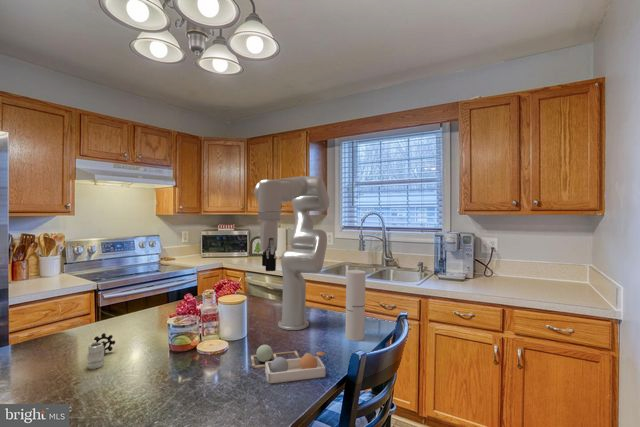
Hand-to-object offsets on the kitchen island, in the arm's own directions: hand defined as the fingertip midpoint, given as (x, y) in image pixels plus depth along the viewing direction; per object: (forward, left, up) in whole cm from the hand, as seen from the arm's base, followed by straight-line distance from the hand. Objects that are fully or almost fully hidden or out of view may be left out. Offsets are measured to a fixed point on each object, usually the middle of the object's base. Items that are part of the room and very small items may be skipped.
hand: (268, 268), depth 110 cm
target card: (+6, +15, -28) cm, 32 cm away
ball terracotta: (+17, +10, -28) cm, 34 cm away
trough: (+17, +6, -28) cm, 33 cm away
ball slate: (+17, +1, -28) cm, 33 cm away
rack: (+7, +2, -28) cm, 29 cm away
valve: (-6, -51, -29) cm, 59 cm away
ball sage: (+7, -2, -28) cm, 29 cm away
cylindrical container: (-6, +34, -28) cm, 45 cm away
